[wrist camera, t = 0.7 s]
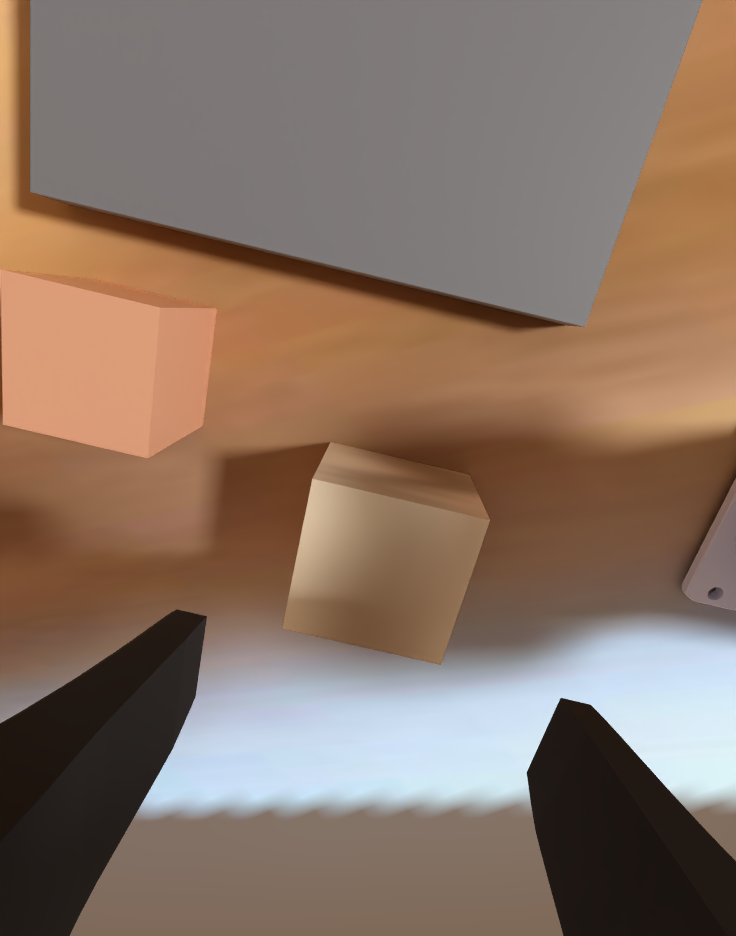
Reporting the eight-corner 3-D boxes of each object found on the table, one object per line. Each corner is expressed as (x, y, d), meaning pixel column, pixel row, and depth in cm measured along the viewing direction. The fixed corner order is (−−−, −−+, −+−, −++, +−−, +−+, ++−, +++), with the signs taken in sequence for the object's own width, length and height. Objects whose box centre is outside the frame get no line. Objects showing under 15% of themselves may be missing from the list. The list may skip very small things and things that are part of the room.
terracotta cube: (217, 308, 16) (160, 307, 12) (203, 425, 17) (147, 458, 13) (97, 279, 16) (-1, 269, 12) (91, 398, 17) (3, 424, 13)
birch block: (469, 473, 17) (490, 520, 13) (431, 592, 19) (440, 664, 15) (331, 440, 17) (312, 478, 13) (305, 562, 18) (281, 628, 15)
